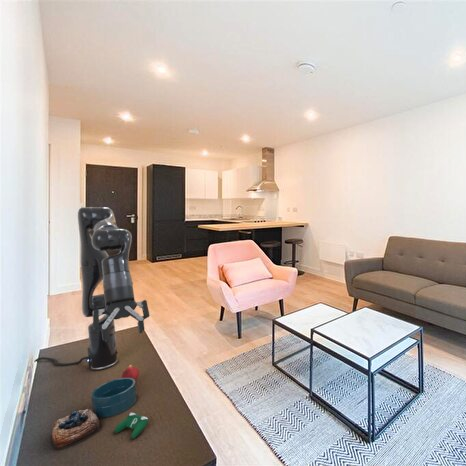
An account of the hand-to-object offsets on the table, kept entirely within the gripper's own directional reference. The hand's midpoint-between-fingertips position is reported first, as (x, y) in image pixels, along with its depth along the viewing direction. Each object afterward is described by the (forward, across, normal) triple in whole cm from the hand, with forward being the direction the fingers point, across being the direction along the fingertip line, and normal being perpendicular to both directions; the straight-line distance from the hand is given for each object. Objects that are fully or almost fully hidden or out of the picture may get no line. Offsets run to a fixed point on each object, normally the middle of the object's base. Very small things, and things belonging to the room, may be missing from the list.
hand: (124, 337), depth 93 cm
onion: (+19, -6, -39) cm, 43 cm away
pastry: (+26, +12, -20) cm, 35 cm away
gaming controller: (+30, 0, -9) cm, 31 cm away
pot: (+23, +1, -27) cm, 36 cm away
